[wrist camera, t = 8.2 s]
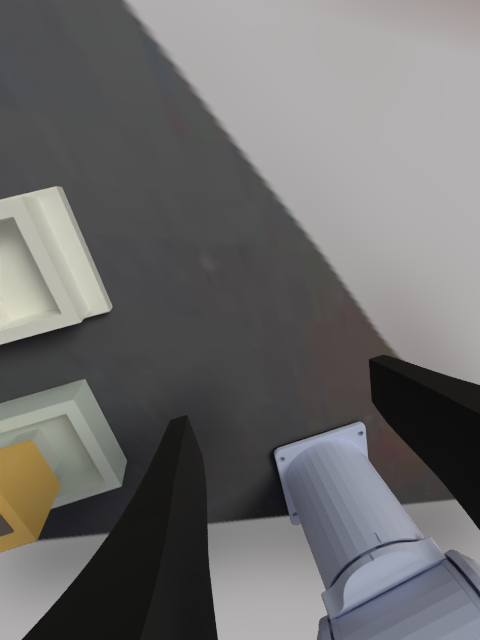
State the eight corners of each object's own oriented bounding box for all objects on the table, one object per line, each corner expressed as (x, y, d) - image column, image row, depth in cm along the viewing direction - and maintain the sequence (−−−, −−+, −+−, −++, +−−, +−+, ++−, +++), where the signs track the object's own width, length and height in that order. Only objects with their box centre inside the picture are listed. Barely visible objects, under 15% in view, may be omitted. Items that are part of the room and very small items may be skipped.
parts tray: (127, 460, 23) (121, 486, 21) (6, 498, 22) (-12, 528, 20) (85, 378, 20) (73, 399, 18) (-55, 419, 20) (-84, 445, 17)
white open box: (112, 306, 19) (102, 322, 16) (-3, 338, 18) (-31, 358, 16) (61, 187, 16) (41, 184, 14) (-75, 219, 16) (-122, 222, 13)
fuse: (70, 463, 22) (36, 542, 17) (34, 474, 21) (-11, 557, 16) (44, 420, 20) (-3, 492, 15) (5, 431, 20) (-55, 508, 15)
